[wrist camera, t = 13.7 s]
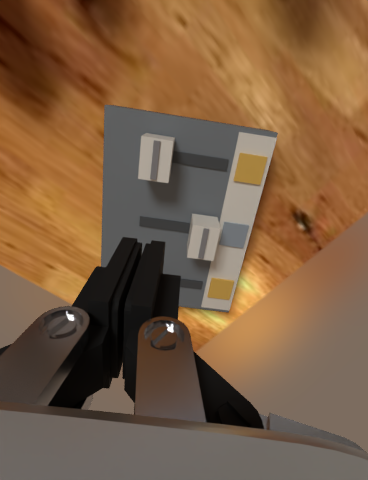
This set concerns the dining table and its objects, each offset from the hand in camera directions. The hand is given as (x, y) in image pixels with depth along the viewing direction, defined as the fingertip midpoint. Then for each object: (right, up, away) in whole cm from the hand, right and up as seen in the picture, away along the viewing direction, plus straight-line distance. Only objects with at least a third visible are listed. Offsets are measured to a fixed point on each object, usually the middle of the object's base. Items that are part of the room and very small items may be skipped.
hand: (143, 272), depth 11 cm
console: (+1, +5, +26) cm, 26 cm away
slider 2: (+4, +3, +22) cm, 23 cm away
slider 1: (-1, +11, +19) cm, 22 cm away
